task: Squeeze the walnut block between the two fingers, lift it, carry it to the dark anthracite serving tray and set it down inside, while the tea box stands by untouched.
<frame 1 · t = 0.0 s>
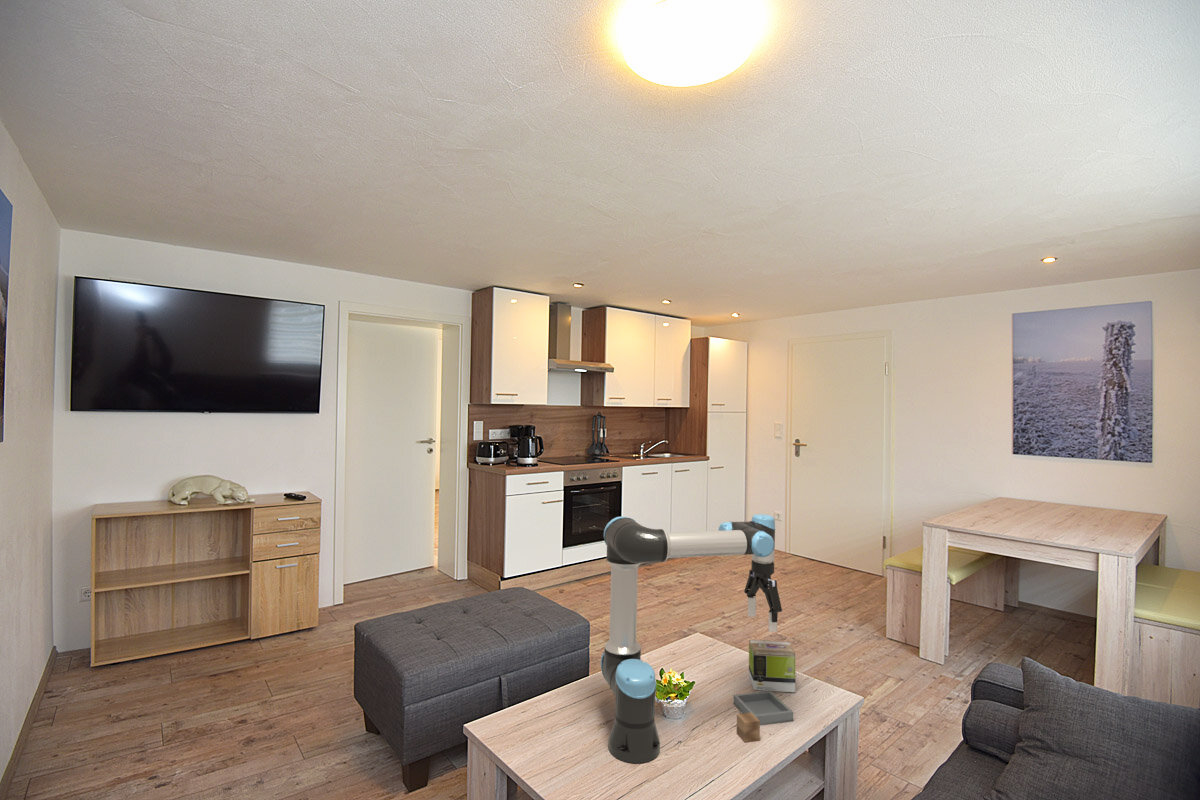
hand: (761, 623, 190), 28 cm above the table, fingers open, 13 cm apart
walnut block: (747, 737, 172), on the table
tea box: (771, 686, 205), on the table
tray: (762, 712, 186), on the table
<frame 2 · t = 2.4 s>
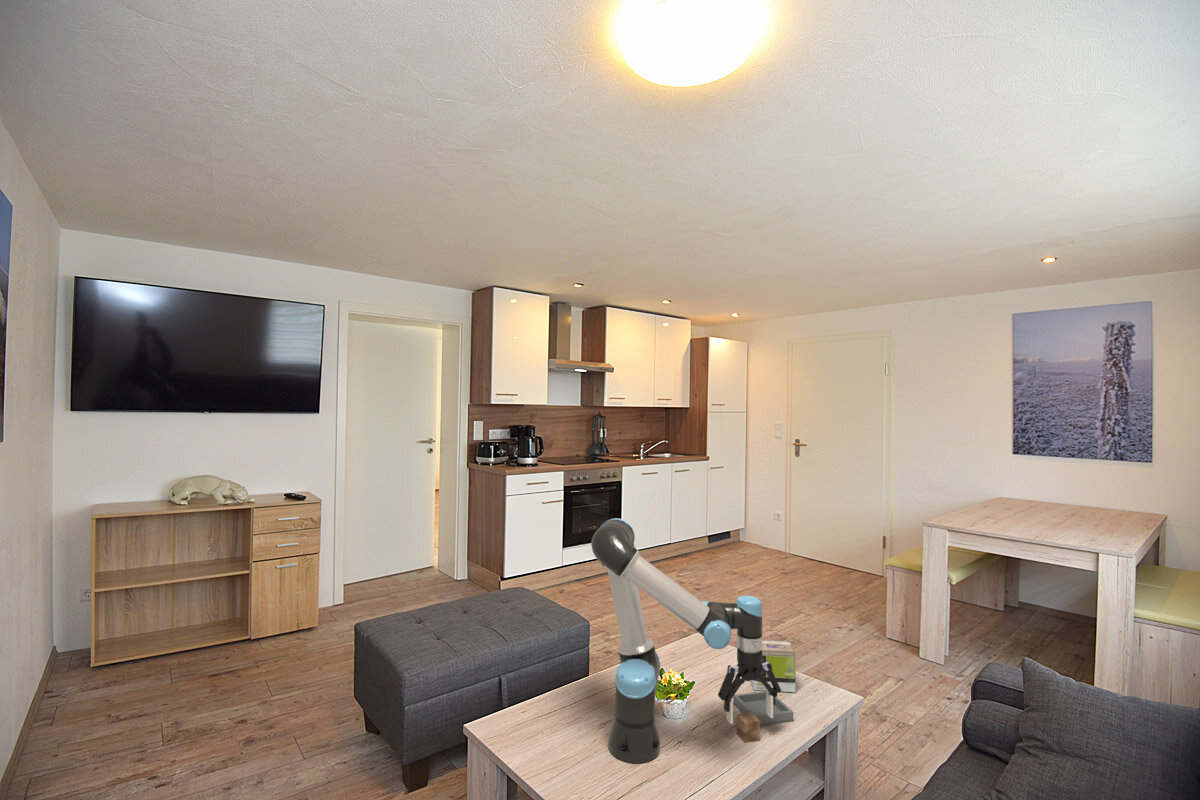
hand: (749, 718, 172), 6 cm above the table, fingers open, 13 cm apart
nothing on the table moved.
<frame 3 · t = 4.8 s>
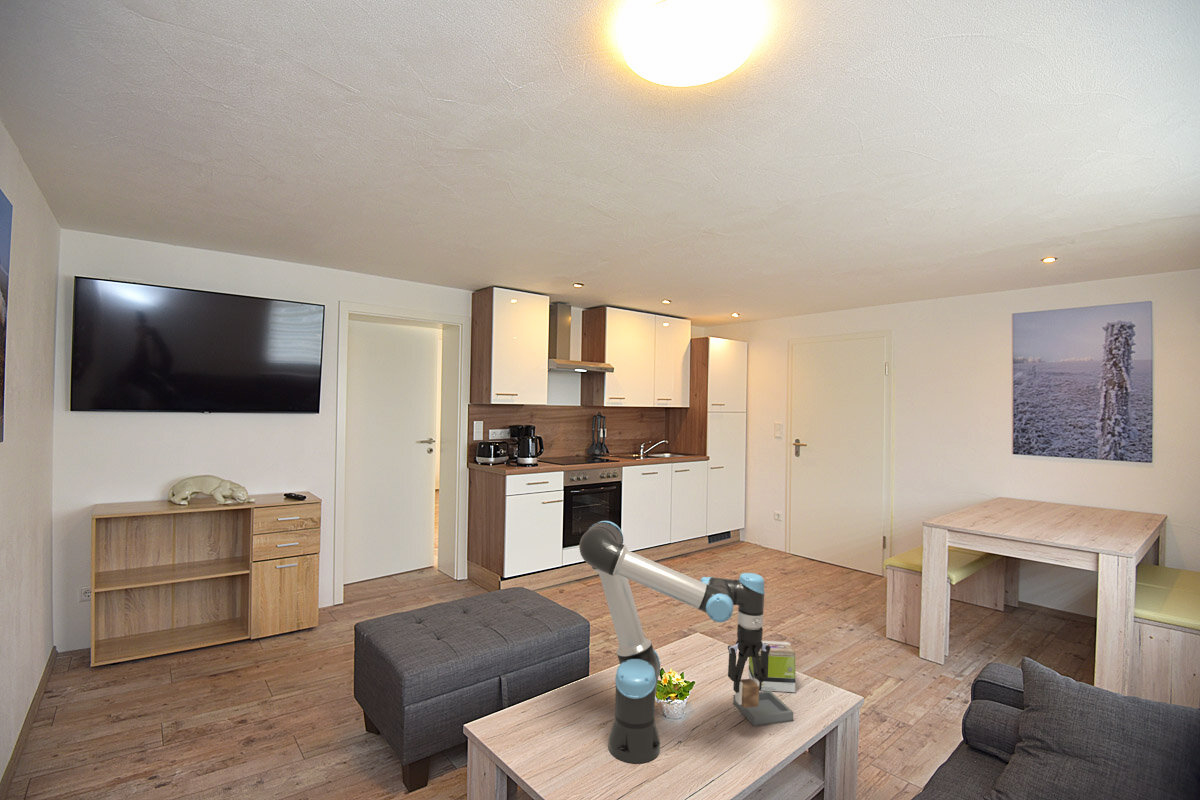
hand: (746, 701, 172), 11 cm above the table, fingers closed on walnut block, 5 cm apart
walnut block: (746, 702, 172), point 10 cm above the table, touching gripper
everything else where it was.
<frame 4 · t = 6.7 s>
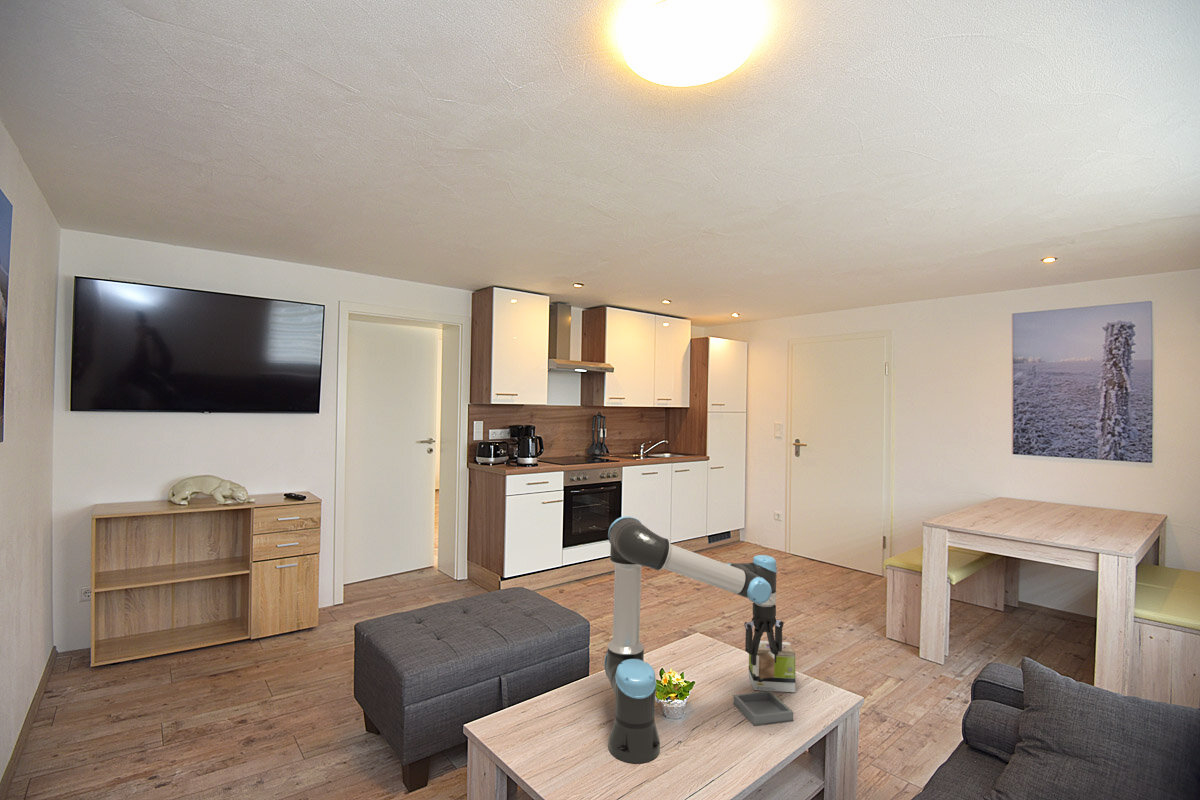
hand: (763, 673, 186), 13 cm above the table, fingers closed on walnut block, 5 cm apart
walnut block: (763, 674, 186), point 12 cm above the table, touching gripper
everything else where it was.
when the fingers open (2 cm above the table, at t = 8.7 s): walnut block drops 1 cm, resting on tray.
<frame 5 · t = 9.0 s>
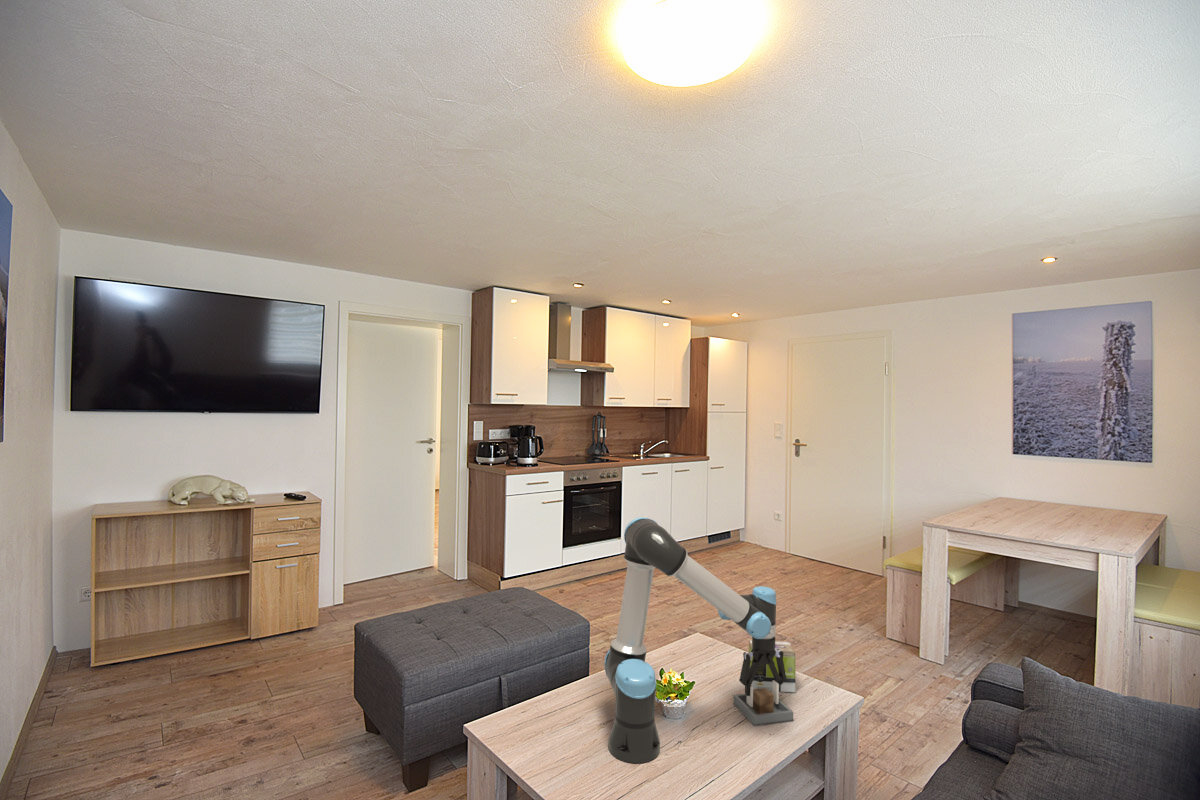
hand: (762, 703, 186), 3 cm above the table, fingers open, 9 cm apart
walnut block: (762, 710, 186), point 1 cm above the table, touching tray
everything else where it was.
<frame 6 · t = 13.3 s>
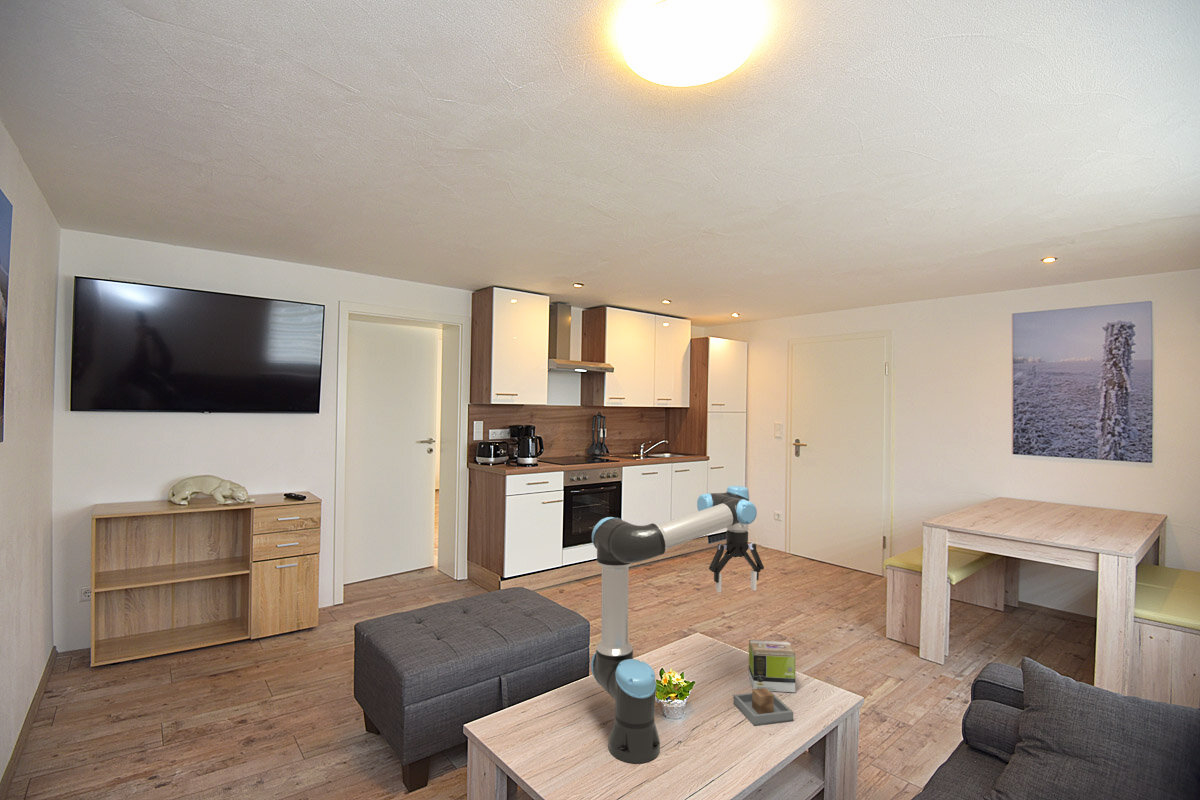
hand: (736, 590, 198), 37 cm above the table, fingers open, 13 cm apart
nothing on the table moved.
at the end: walnut block inside the target area on the tray (0.1 cm from its centre), point 0.6 cm above the tray's base; walnut block tilted 0°; the gripper is holding nothing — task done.
